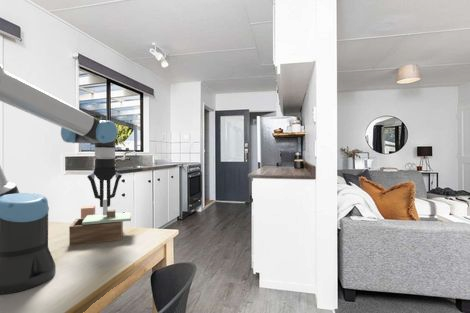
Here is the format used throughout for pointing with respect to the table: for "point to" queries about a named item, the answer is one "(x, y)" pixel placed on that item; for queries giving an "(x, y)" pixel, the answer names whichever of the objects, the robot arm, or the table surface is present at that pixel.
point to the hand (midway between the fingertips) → (105, 214)
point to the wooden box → (94, 232)
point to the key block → (87, 211)
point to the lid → (107, 217)
